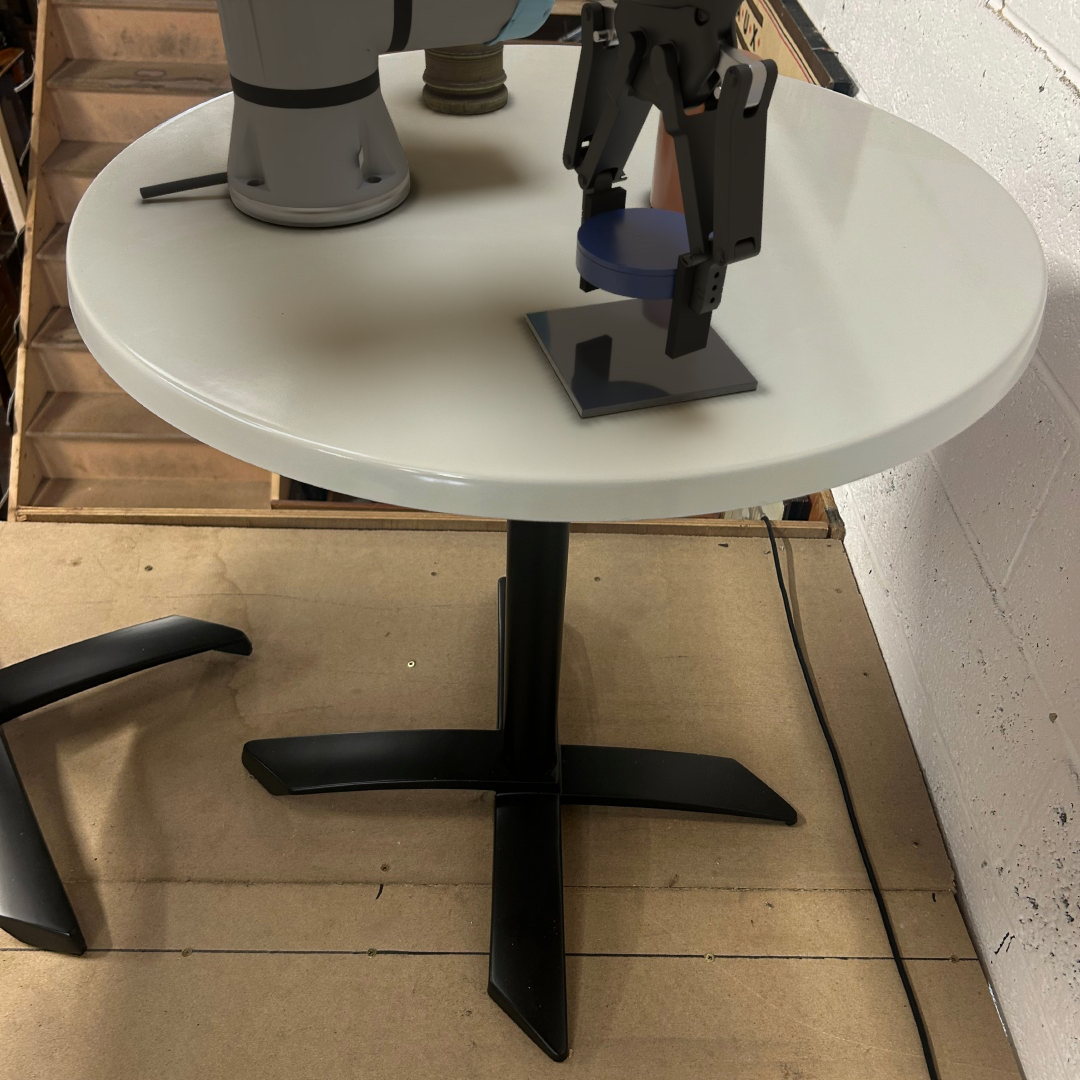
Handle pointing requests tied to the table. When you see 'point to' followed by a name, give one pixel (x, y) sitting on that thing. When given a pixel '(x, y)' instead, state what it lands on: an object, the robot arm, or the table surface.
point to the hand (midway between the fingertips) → (640, 316)
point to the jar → (671, 164)
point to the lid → (632, 251)
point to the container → (465, 78)
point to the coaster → (631, 357)
